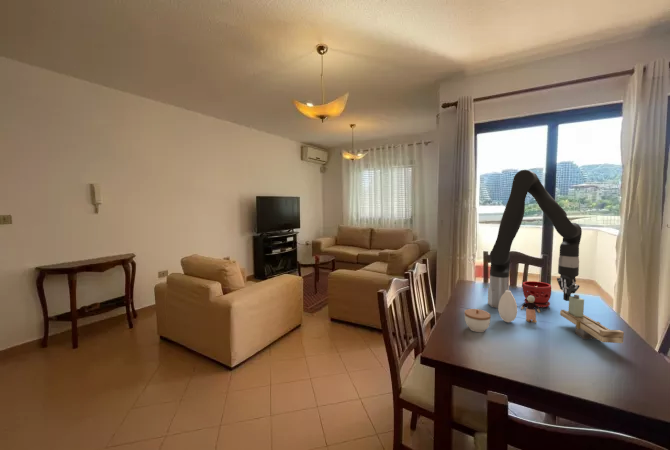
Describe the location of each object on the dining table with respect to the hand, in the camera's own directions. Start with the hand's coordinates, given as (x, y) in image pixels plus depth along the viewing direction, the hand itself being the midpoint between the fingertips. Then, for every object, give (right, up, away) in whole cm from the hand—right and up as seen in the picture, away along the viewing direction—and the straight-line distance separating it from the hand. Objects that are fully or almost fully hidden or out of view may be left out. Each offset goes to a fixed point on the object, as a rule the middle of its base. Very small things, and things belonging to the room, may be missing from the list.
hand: (566, 300), depth 135 cm
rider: (-1, -5, -6) cm, 8 cm away
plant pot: (+2, -9, +23) cm, 25 cm away
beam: (-2, -12, -14) cm, 18 cm away
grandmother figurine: (-16, -11, +3) cm, 19 cm away
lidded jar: (-45, -12, -4) cm, 47 cm away
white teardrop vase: (-27, -11, +3) cm, 29 cm away
